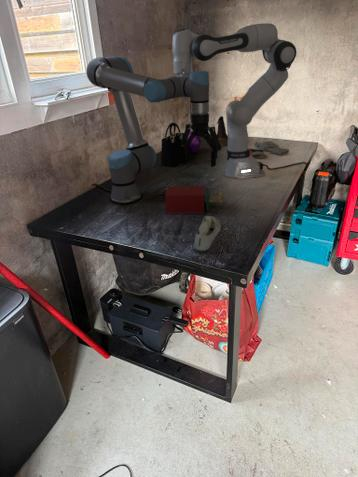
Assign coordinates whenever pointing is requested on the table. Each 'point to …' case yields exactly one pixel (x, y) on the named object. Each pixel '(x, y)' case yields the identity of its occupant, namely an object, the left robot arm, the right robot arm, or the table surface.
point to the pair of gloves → (267, 149)
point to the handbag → (172, 147)
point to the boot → (222, 132)
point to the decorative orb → (195, 143)
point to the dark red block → (185, 199)
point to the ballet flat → (206, 233)
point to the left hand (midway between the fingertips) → (200, 163)
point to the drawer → (212, 200)
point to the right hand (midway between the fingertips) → (184, 99)
